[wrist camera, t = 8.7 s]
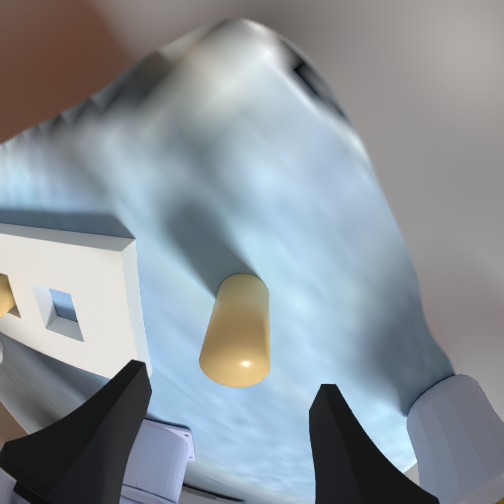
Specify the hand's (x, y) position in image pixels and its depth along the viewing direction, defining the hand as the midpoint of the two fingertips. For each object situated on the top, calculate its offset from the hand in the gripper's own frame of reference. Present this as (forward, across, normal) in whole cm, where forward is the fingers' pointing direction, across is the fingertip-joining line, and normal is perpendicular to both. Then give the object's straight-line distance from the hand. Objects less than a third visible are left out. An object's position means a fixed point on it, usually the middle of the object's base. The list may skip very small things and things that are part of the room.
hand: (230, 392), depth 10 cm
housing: (+8, +18, +3) cm, 20 cm away
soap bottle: (+8, -23, +12) cm, 27 cm away
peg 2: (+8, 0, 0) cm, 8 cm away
